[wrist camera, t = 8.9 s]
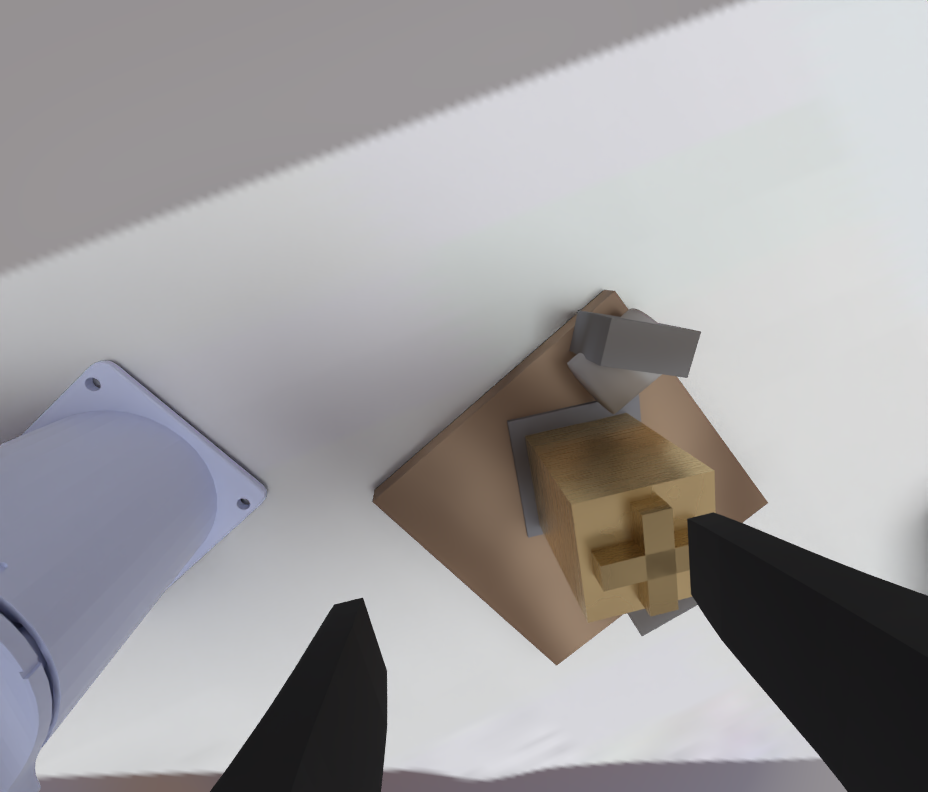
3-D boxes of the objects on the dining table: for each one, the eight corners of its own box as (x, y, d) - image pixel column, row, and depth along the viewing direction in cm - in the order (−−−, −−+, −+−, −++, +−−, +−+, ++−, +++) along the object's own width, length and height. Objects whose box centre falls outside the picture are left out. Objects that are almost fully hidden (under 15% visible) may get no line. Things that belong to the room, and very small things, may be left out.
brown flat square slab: (550, 649, 23) (578, 725, 19) (368, 484, 19) (356, 538, 15) (760, 486, 21) (836, 532, 17) (608, 274, 17) (662, 274, 14)
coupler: (634, 503, 19) (732, 606, 13) (539, 526, 19) (596, 641, 13) (626, 412, 18) (730, 481, 12) (524, 436, 18) (580, 517, 12)
